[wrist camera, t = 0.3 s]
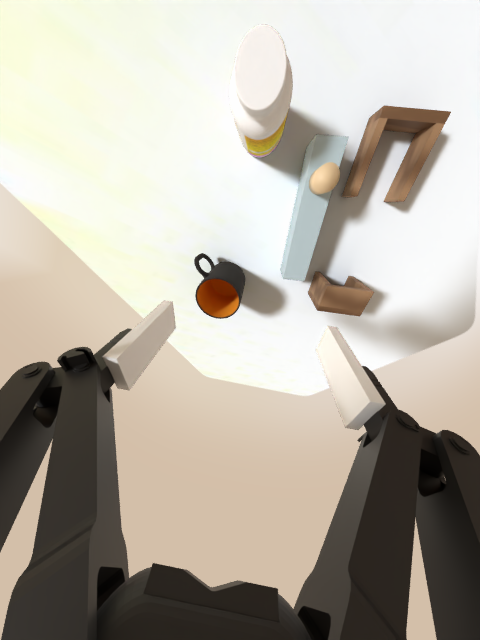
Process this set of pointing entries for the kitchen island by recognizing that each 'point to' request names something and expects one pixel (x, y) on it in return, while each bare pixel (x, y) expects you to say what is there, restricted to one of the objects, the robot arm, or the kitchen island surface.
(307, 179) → the slat
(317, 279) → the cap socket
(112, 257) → the kitchen island surface
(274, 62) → the supplement bottle
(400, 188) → the brown wooden u-shaped frame
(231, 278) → the mug
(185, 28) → the kitchen island surface
